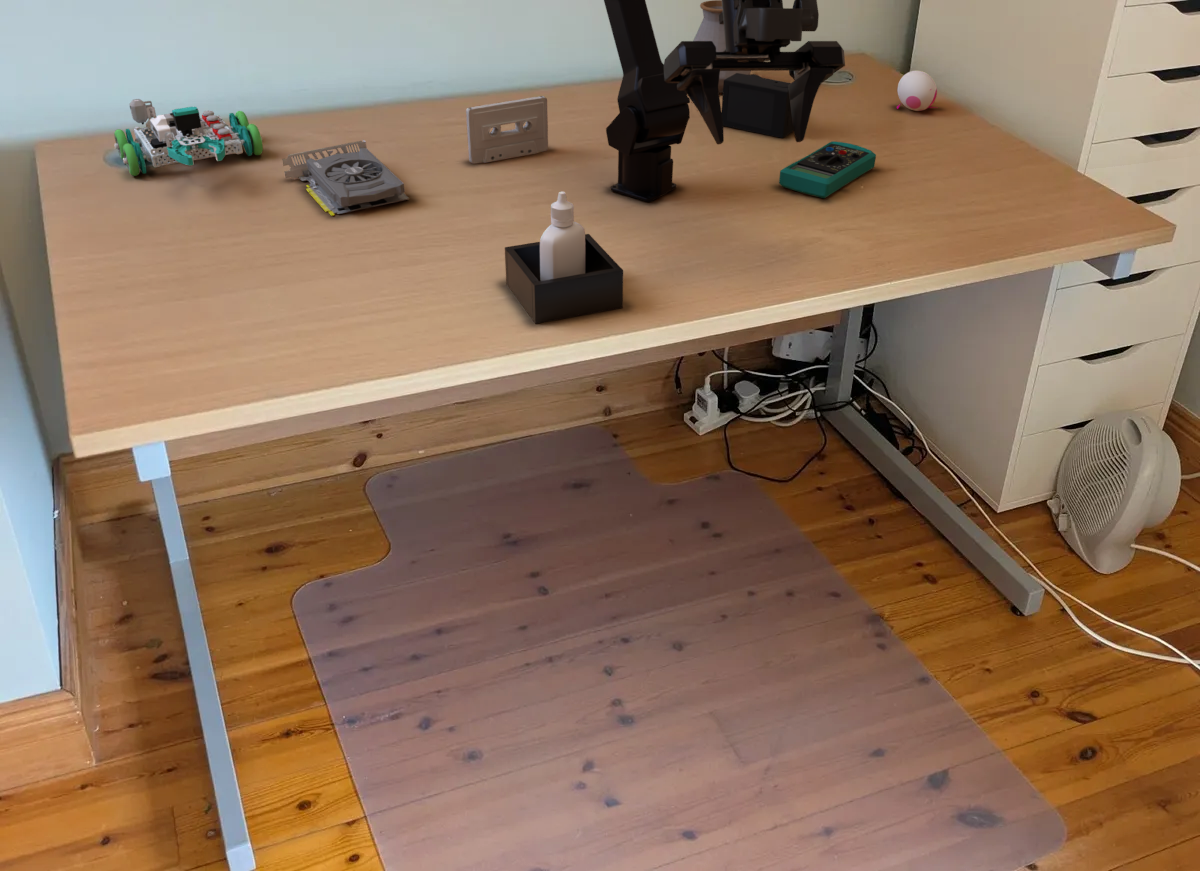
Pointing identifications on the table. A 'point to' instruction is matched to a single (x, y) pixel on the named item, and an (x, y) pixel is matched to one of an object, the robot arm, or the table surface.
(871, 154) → the digital multimeter
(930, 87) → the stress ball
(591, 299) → the holder
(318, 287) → the table surface
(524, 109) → the cassette
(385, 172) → the graphics card
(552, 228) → the eye dropper bottle
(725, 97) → the digital camera
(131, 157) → the robot kit
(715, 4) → the coffee pot
